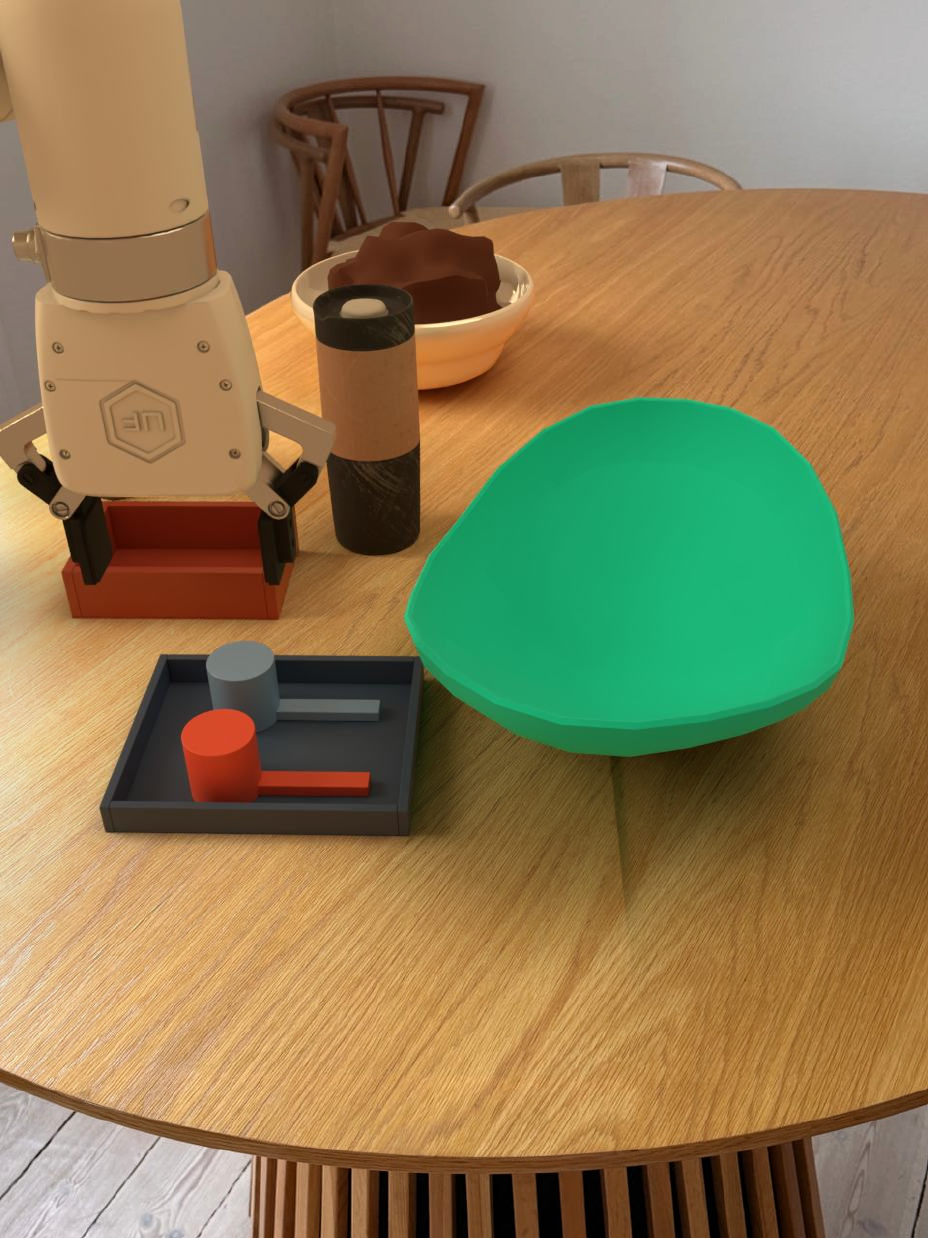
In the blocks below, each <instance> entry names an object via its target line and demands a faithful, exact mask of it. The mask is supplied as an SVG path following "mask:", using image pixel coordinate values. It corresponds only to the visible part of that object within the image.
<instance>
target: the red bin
mask: <svg viewBox="0 0 928 1238" xmlns="http://www.w3.org/2000/svg"><path fill="white" fill-rule="evenodd" d="M102 505H103V509H104V514H105V518H106V523H107V528H108V532H109V537H110V541H111V546H112V551H113V558H112V560H111V562H110V564H109V565H108V567H107V569H106V571H105V573H104V575H103V577H102V579H101V581H100V582H99V583H97V584H96V585H85V584H84V582H83V577H82V573H81V569H80V565H79V563H74V562H73V561H72V559H71V555H69V557H68V559H67V561H66V563H65V564H64V566H63V568H62V569H61V572H60V573H61V577H62V581H63V585H64V590H65V594H66V597H67V602H68V606H69V611H70V614H71V619H78V620H80V619H82V620H86V619H88V620H90V619H91V620H92V619H93V620H95V619H96V620H97V619H98V620H205V621H206V620H208V621H209V620H214V621H215V620H219V621H220V620H221V621H224V620H225V621H227V620H228V621H231V620H232V621H279V620H280V617H281V613H282V609H283V606H284V603H285V599H286V595H287V591H288V587H289V584H290V581H291V577H292V574H293V570H294V566H295V562H296V558H298V556H299V552H300V545H299V544H300V543H299V533H298V525H297V523H298V522H297V515H296V504H295V505H294V506H293V507H292V513H293V521H294V530H295V538H296V557H295V560H294V563H286V565H285V568H284V571H283V575H282V578H281V582H280V585H269V584H268V583H265V578H264V571H263V564H262V556H261V549H260V542H259V534H258V527H257V523H258V519H259V516H260V513H261V510H262V509H261V508H260V507H259V506H258V505H257V504H256V503H255V502H253V501H217V500H216V501H215V500H214V501H210V500H209V501H207V500H206V501H205V500H204V501H201V500H200V501H199V500H197V501H196V500H195V501H194V500H192V501H191V500H189V501H187V500H186V501H184V500H183V501H182V500H178V501H177V500H176V501H175V500H102Z"/></svg>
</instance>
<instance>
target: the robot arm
mask: <svg viewBox="0 0 928 1238" xmlns="http://www.w3.org/2000/svg"><path fill="white" fill-rule="evenodd" d="M185 32H186V31H185V25H184V18H183V10H182V4H181V0H0V124H1V123H5V122H10V121H14V120H15V123H16V127H17V132H18V137H19V139H20V140H19V141H20V145H21V149H22V150H21V151H22V156H23V160H24V165H25V170H26V173H27V174H26V175H27V179H28V184H29V188H30V189H29V190H30V193H31V199H32V200H33V206H34V207H33V208H34V211H35V215H36V219H37V222H36V223H35V224H34V226H33V227H30V228H29V230H15V231H14V232H13V235H12V249H13V250H12V251H13V252H14V253H13V254H14V256H15V258H16V259H17V260H18V261H20V262H21V261H32V262H33V263H34V264H37V265H40V266H41V268H42V270H43V273H44V279H45V282H46V285H44V286H43V287H41V288H40V289H39V290H38V291H37V292H36V294H35V298H34V324H35V326H34V327H35V344H36V345H35V346H36V347H35V348H36V357H37V370H38V378H39V379H38V380H39V388H40V397H41V401H40V402H38V403H36V404H35V405H33V406H31V407H29V408H28V409H26V410H24V411H22V412H20V413H19V414H17V415H15V416H13V417H11V418H9V419H7V420H6V421H4V422H2V423H0V458H1V460H2V461H3V462H4V463H5V464H6V465H7V466H8V468H9V470H13V471H14V472H15V474H16V479H17V481H18V483H19V484H20V486H22V487H23V488H24V489H26V490H27V491H29V492H30V493H31V494H32V495H34V496H36V497H37V498H38V499H39V500H40V501H42V502H44V503H45V504H47V505H48V510H49V513H50V514H51V515H52V516H53V517H54V518H55V519H57V520H60V521H62V525H63V529H64V534H65V538H66V542H67V547H68V550H69V554H70V555H71V559H72V561H73V562H74V563H79V565H80V569H81V573H82V577H83V582H84V584H85V585H96V584H97V583H99V582H100V581H101V579H102V577H103V575H104V573H105V571H106V569H107V567H108V565H109V564H110V562H111V560H112V558H113V551H112V546H111V541H110V537H109V532H108V528H107V523H106V518H105V514H104V509H103V505H102V501H103V500H102V498H100V497H126V498H210V497H211V498H212V497H229V496H235V495H239V494H245V495H246V496H247V497H248V498H249V499H250V500H251V502H255V503H256V504H257V505H258V506H259V507H260V508H261V509H262V510H261V513H260V516H259V519H258V523H257V527H258V534H259V542H260V549H261V556H262V564H263V571H264V578H265V583H268V584H269V585H280V582H281V578H282V575H283V571H284V568H285V565H286V563H294V560H295V561H296V559H295V557H296V538H295V530H294V521H293V513H292V507H293V506H294V505H295V506H296V504H297V503H298V502H299V501H300V500H301V499H302V498H303V497H304V496H305V495H307V493H308V492H309V491H311V490H312V489H313V488H314V486H315V485H316V484H317V482H318V480H319V477H320V475H321V474H322V473H321V472H322V471H323V469H324V467H325V465H326V461H327V459H328V457H329V455H330V452H331V450H332V448H333V446H334V443H335V440H336V436H337V432H338V431H337V427H336V426H335V424H333V423H332V422H330V421H327V420H325V419H323V418H322V416H318V415H316V414H314V413H311V412H310V411H307V410H306V409H304V408H301V407H299V406H296V405H294V404H292V403H290V402H288V401H285V400H284V399H281V398H278V397H276V396H274V395H272V394H270V393H268V392H266V391H264V387H263V383H262V378H261V373H260V369H259V364H258V359H257V355H256V352H255V346H254V343H253V339H252V335H251V332H250V328H249V324H248V321H247V318H246V315H245V311H244V308H243V304H242V302H241V299H240V297H239V293H238V290H237V288H236V285H235V283H234V280H233V277H232V275H231V274H230V273H229V272H228V271H226V270H223V269H222V270H221V269H218V261H217V255H216V248H215V247H216V246H215V239H214V233H213V226H212V218H211V211H210V207H209V199H208V193H207V192H208V191H207V185H206V177H205V171H204V169H205V168H204V164H203V156H202V148H201V140H200V134H199V128H198V127H199V126H198V121H197V113H196V107H195V99H194V93H193V92H194V91H193V84H192V75H191V70H190V69H191V68H190V61H189V55H188V47H187V40H186V33H185ZM270 432H272V433H274V434H277V435H279V436H282V437H284V438H285V439H288V440H291V441H293V442H295V443H297V444H299V445H300V447H301V448H302V452H301V454H300V455H299V457H298V458H297V459H295V461H294V462H293V463H291V465H290V466H289V467H288V468H287V469H285V468H284V466H283V465H281V464H280V462H278V461H277V460H276V459H275V458H274V457H273V456H272V455H271V454H270V453H269V452H267V450H268V449H269V446H270ZM45 435H46V437H47V442H48V443H47V444H48V447H49V453H50V457H51V459H50V458H48V457H47V456H45V455H44V454H42V453H39V452H38V451H37V450H38V448H37V447H36V446H35V444H34V443H33V441H35V440H36V439H38V438H40V437H42V436H45ZM70 555H69V556H70ZM296 558H297V557H296ZM294 564H295V563H294Z"/></svg>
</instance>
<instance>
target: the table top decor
mask: <svg viewBox="0 0 928 1238" xmlns="http://www.w3.org/2000/svg"><path fill="white" fill-rule="evenodd" d="M844 542H845V541H844V537H843V532H842V528H841V523H840V519H839V514H838V513H837V510H836V509H835V507H834V505H833V503H832V500H831V499H830V497H829V494H828V493H827V492H826V490H825V487H824V486H823V484H822V481H821V480H820V478H819V476H818V474H817V472H816V470H815V468H814V466H813V465H812V464H811V462H810V461H809V460H808V459H806V457H805V456H803V455H802V453H800V451H798V450H797V449H796V448H795V446H793V444H792V443H791V442H789V440H787V438H785V436H783V435H782V433H780V432H779V431H778V430H777V428H775V427H774V426H771V425H770V424H767V423H766V422H764V421H761V420H759V419H756V418H755V417H753V416H750V415H748V414H746V413H744V412H742V411H740V410H738V409H735V408H734V407H729V406H725V405H719V404H714V403H709V402H705V401H699V400H695V399H690V398H689V399H688V398H673V397H645V396H644V397H643V396H642V397H641V396H638V397H632V398H626V399H621V400H615V401H609V402H603V403H599V404H593V405H589V406H587V407H585V408H583V409H581V410H578V411H576V412H575V413H573V414H571V415H569V416H567V417H564V418H563V419H561V420H559V421H557V422H554V423H552V424H551V425H549V426H547V427H544V428H543V429H541V430H540V431H539V432H538V433H537V434H535V436H533V437H532V438H531V439H529V441H527V442H526V443H525V444H524V445H523V446H521V447H520V448H519V449H518V450H517V451H516V452H514V454H512V455H511V456H509V457H508V458H507V459H506V460H505V461H504V462H502V463H501V464H500V465H499V466H498V467H497V468H495V470H494V471H493V473H492V474H491V475H490V476H489V478H488V479H487V481H486V482H485V483H484V484H483V485H482V487H481V488H480V490H479V491H478V492H477V493H476V495H475V496H474V498H473V499H472V500H471V502H470V503H469V504H468V505H467V507H466V509H465V510H464V511H463V512H462V514H460V516H459V518H458V519H456V521H455V523H454V524H453V525H452V526H451V528H449V529H448V531H447V532H446V534H445V535H444V536H443V537H442V539H441V540H440V541H439V542H438V544H437V545H436V546H435V547H434V548H433V549H432V551H431V552H430V553H429V554H428V556H427V558H426V561H425V562H424V565H423V567H422V569H421V571H420V573H419V576H418V577H417V579H416V582H415V584H414V586H413V588H412V591H411V592H410V595H409V598H408V601H407V605H406V609H405V612H404V616H403V620H404V622H405V624H406V627H407V630H408V633H409V635H410V637H411V640H412V642H413V644H414V646H415V649H416V651H417V654H418V656H420V658H421V661H422V663H423V665H424V669H426V671H428V672H429V673H430V674H431V675H432V676H433V677H434V678H435V679H436V680H437V681H438V682H439V683H440V684H441V685H442V686H443V687H444V688H445V689H446V690H447V691H448V692H449V693H450V694H451V695H452V696H453V697H455V698H457V699H458V700H460V701H462V702H463V703H465V704H466V705H468V706H469V707H471V708H472V709H474V710H475V711H477V712H479V713H480V714H482V715H484V716H485V717H486V718H488V719H489V720H492V721H493V722H495V723H497V724H498V725H500V726H501V727H503V728H505V729H506V730H507V731H509V732H511V733H512V734H514V735H516V736H518V737H521V738H524V739H527V740H530V741H534V742H536V743H539V744H543V745H546V746H549V747H551V748H555V749H558V750H561V751H564V752H568V753H571V754H572V753H573V754H582V755H583V754H585V755H597V756H612V757H614V756H615V757H625V758H626V757H627V758H633V757H638V756H645V755H651V754H659V753H665V752H671V751H677V750H685V749H690V748H695V747H699V746H703V745H708V744H711V743H716V742H719V741H720V742H721V741H724V740H728V739H733V738H737V737H740V736H744V735H747V734H749V733H752V732H754V731H757V730H760V729H763V728H766V727H768V726H772V725H774V724H777V723H780V722H782V721H783V720H786V719H787V718H789V717H792V716H794V715H795V714H797V713H799V712H801V711H803V710H805V709H806V708H808V706H810V705H811V704H812V703H813V702H815V701H816V700H817V699H819V698H820V697H821V696H822V695H823V694H825V693H826V692H827V691H828V690H830V688H831V687H832V685H833V683H834V681H835V680H836V678H837V676H838V675H839V673H840V671H841V669H843V664H844V661H845V657H846V653H847V649H848V646H849V642H850V638H851V635H852V632H853V628H854V624H855V612H854V599H853V598H854V597H853V586H852V575H851V570H850V566H849V565H850V564H849V560H848V557H847V551H846V547H845V543H844Z"/></svg>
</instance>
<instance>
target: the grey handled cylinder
mask: <svg viewBox="0 0 928 1238" xmlns="http://www.w3.org/2000/svg"><path fill="white" fill-rule="evenodd" d="M209 654H210V655H209V657H208V659H207V662H206V668H207V674H208V680H209V686H210V692H211V698H212V704H213V710H218V709H232V710H237V711H240V712H243V713H245V714H246V715H248V716H249V717H250V718H251V719H252V720H253V722H254V724H255V729H256V733H258V732H261V731H263V730H266V729H267V728H269V727H271V726H272V725H273V724H274V723H275V722H276V721H277V720H295V721H379V720H380V714H381V701H380V700H346V699H280V697H279V689H278V681H277V673H276V666H275V658H274V655H275V653H274V652H273V650H272V649H271V647H269V646H268V645H266V644H264V643H262V642H259V641H256V640H255V641H254V640H237V641H232V642H228V643H225V644H223V645H221V646H219V647H217V648H216V649H214V650H213V651H212V652H211V653H209Z"/></svg>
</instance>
